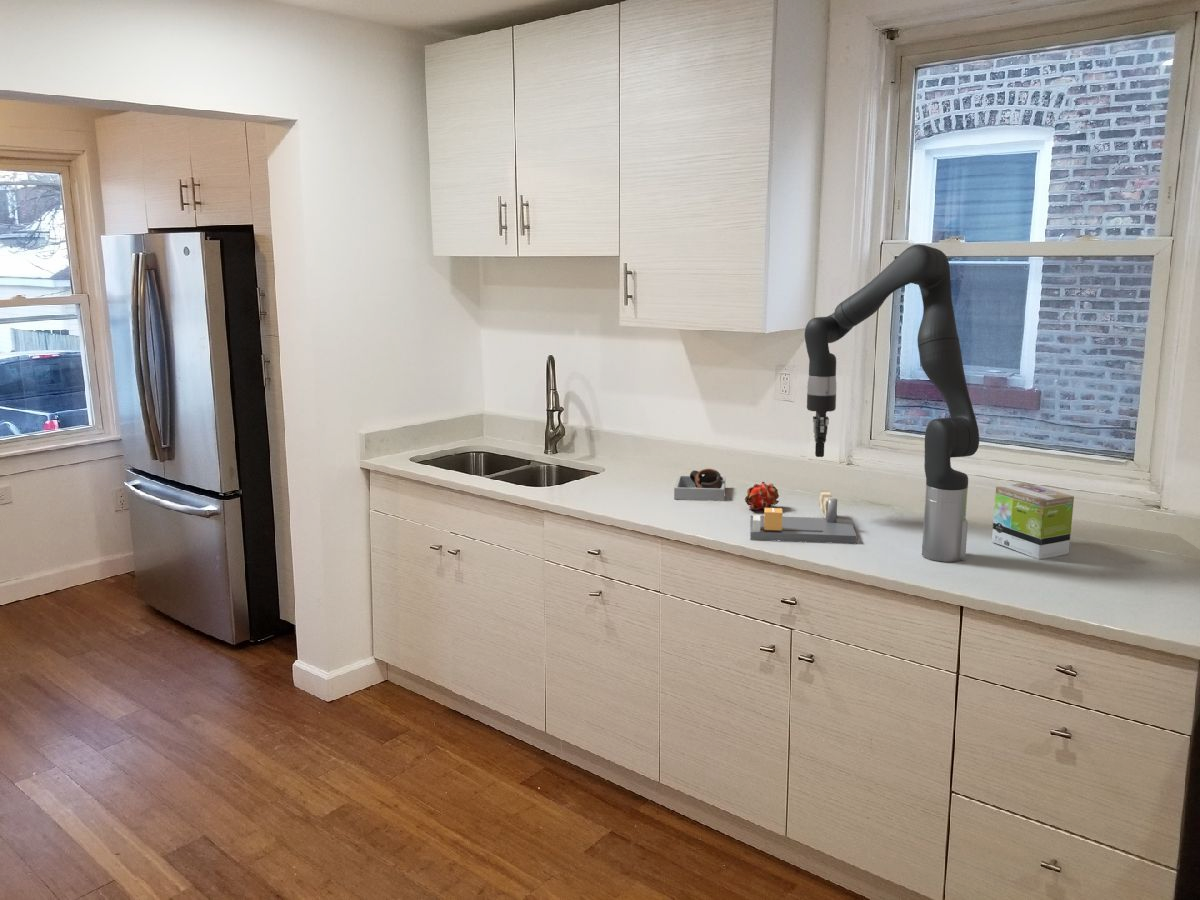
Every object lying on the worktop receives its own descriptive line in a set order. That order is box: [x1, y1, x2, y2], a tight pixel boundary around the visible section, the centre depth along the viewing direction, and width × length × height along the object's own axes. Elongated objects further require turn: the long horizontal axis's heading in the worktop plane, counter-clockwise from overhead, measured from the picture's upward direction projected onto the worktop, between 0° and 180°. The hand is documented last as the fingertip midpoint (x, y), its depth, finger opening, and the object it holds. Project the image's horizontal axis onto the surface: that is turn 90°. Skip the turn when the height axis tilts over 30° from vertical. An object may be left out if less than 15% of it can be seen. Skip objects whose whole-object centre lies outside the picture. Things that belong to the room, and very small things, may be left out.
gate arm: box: [818, 490, 834, 518], centre depth 255 cm, size 12×2×4 cm, turn 175°
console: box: [749, 497, 858, 544], centre depth 244 cm, size 26×16×8 cm, turn 81°
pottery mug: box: [689, 468, 723, 489], centre depth 289 cm, size 12×10×8 cm
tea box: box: [991, 482, 1075, 560], centre depth 228 cm, size 15×10×15 cm, turn 23°
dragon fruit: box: [744, 481, 780, 511], centre depth 267 cm, size 8×8×12 cm
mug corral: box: [673, 475, 727, 502], centre depth 287 cm, size 15×17×4 cm
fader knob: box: [763, 507, 784, 530], centre depth 240 cm, size 4×4×5 cm
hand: (819, 456), depth 255 cm, fingers closed
